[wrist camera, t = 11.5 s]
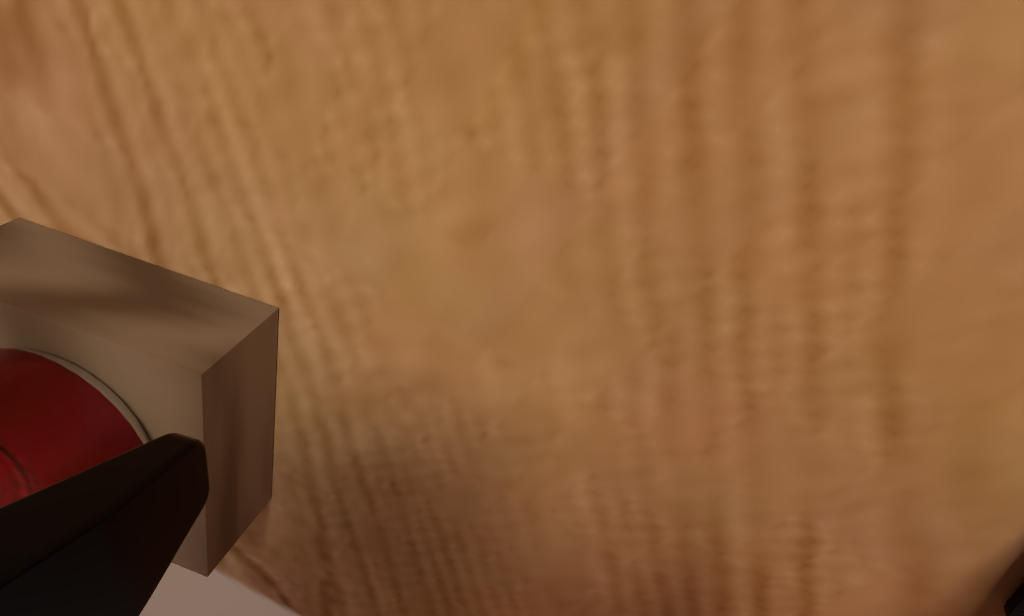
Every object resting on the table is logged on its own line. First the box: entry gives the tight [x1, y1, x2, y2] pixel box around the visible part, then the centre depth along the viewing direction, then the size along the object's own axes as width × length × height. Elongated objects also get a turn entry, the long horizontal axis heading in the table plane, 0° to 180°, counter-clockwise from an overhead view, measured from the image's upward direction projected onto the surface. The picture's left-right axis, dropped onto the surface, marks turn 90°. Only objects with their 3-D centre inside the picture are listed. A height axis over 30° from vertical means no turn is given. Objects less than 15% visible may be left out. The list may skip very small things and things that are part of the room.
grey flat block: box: [0, 218, 279, 577], centre depth 25 cm, size 10×9×4 cm
